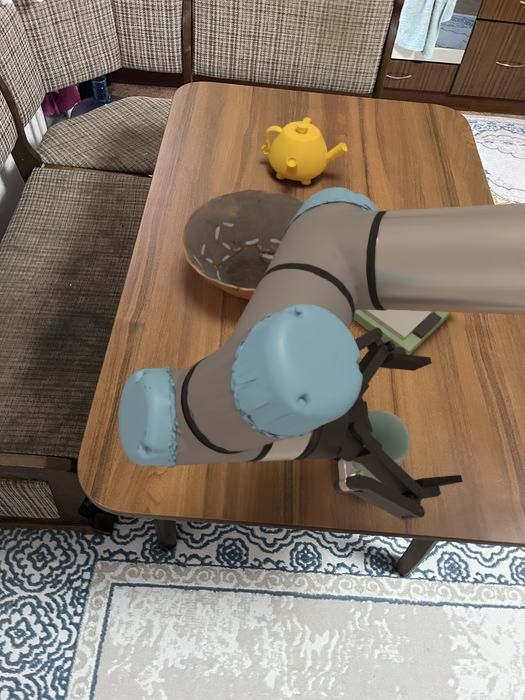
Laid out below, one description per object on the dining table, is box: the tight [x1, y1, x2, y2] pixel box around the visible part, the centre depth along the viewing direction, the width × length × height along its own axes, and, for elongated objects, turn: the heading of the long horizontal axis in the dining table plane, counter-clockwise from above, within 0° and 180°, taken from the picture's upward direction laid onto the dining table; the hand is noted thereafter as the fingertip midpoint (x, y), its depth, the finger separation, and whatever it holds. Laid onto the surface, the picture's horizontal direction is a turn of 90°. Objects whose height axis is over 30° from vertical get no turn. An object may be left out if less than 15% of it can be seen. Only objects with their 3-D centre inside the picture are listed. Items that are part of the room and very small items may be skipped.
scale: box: [352, 310, 452, 355], centre depth 92 cm, size 14×13×3 cm
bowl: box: [181, 189, 305, 300], centre depth 93 cm, size 25×25×10 cm
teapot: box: [261, 116, 348, 186], centre depth 112 cm, size 14×14×11 cm
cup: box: [352, 409, 411, 482], centre depth 72 cm, size 8×8×10 cm
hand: (436, 420), depth 61 cm, fingers open, 13 cm apart
